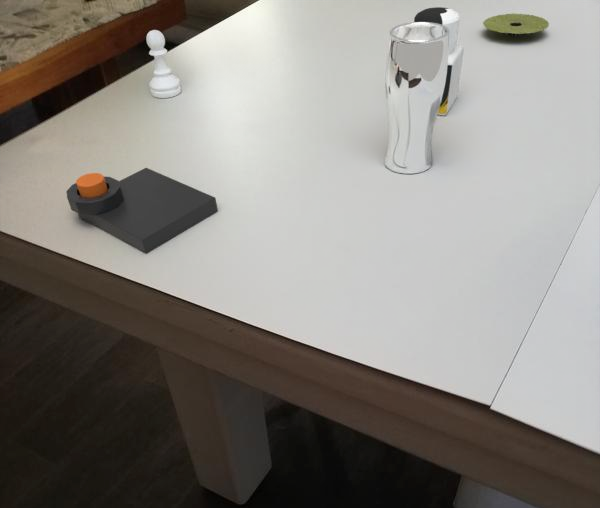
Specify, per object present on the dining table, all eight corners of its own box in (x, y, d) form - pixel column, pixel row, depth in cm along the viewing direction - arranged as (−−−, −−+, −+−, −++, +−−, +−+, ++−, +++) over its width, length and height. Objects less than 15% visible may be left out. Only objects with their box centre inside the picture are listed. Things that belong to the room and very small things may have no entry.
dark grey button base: (66, 219, 71) (56, 192, 68) (144, 179, 77) (137, 152, 74) (138, 259, 64) (130, 231, 62) (218, 212, 70) (213, 184, 68)
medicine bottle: (397, 111, 87) (404, 17, 78) (411, 92, 91) (418, 2, 82) (445, 116, 84) (458, 20, 76) (457, 97, 89) (470, 4, 80)
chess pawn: (146, 98, 95) (131, 35, 89) (158, 86, 99) (145, 25, 92) (175, 99, 94) (162, 36, 88) (186, 87, 98) (174, 25, 91)
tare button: (74, 193, 69) (70, 181, 68) (97, 182, 70) (93, 170, 69) (90, 201, 67) (86, 189, 66) (113, 190, 69) (109, 177, 68)
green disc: (468, 35, 107) (469, 23, 105) (508, 21, 111) (511, 9, 110) (518, 50, 101) (520, 37, 99) (559, 34, 105) (562, 21, 103)
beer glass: (369, 163, 76) (374, 32, 65) (407, 145, 79) (417, 17, 68) (409, 181, 72) (421, 46, 61) (447, 162, 75) (465, 29, 64)
